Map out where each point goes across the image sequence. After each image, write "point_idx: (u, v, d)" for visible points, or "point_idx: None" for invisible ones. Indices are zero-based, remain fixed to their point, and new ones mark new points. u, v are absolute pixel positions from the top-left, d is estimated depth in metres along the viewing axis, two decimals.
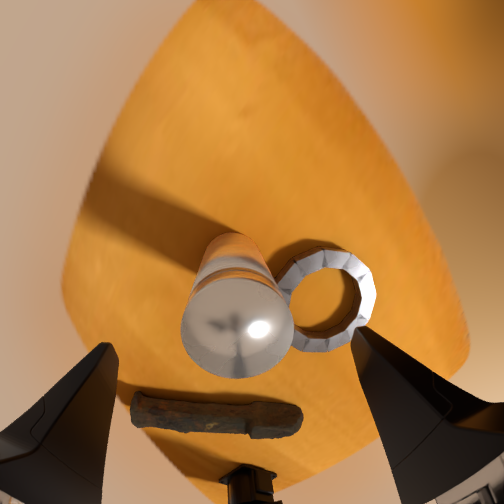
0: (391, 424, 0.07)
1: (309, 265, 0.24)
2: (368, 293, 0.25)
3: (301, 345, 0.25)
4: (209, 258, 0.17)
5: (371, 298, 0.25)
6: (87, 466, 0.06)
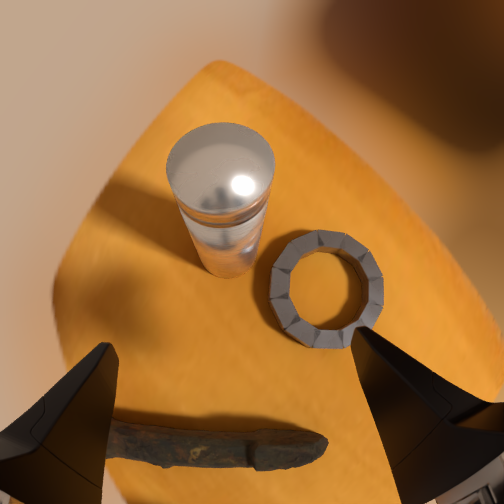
0: (391, 424, 0.07)
1: (305, 244, 0.24)
2: (374, 275, 0.23)
3: (310, 339, 0.21)
4: None
5: (379, 280, 0.23)
6: (87, 466, 0.06)
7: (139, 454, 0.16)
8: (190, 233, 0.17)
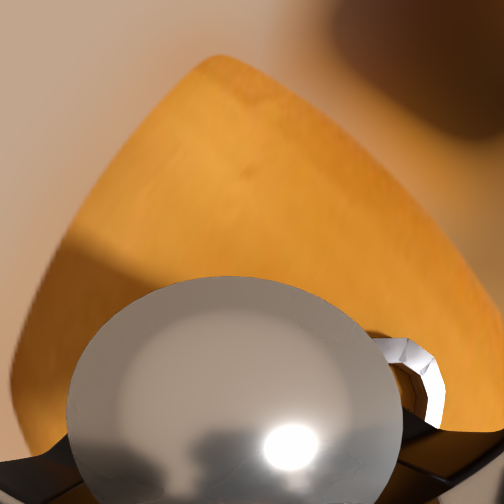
0: None
1: None
2: (435, 390, 0.14)
3: None
4: None
5: (440, 395, 0.13)
6: None
7: None
8: None
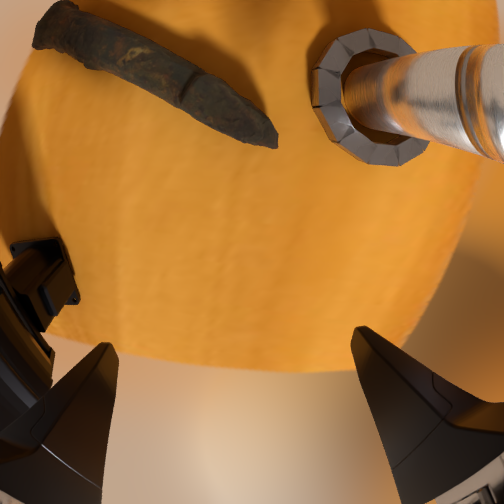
0: (391, 424, 0.07)
1: (406, 52, 0.14)
2: (420, 140, 0.17)
3: (326, 99, 0.15)
4: None
5: (418, 148, 0.17)
6: (87, 466, 0.06)
7: (74, 38, 0.10)
8: (413, 61, 0.09)
